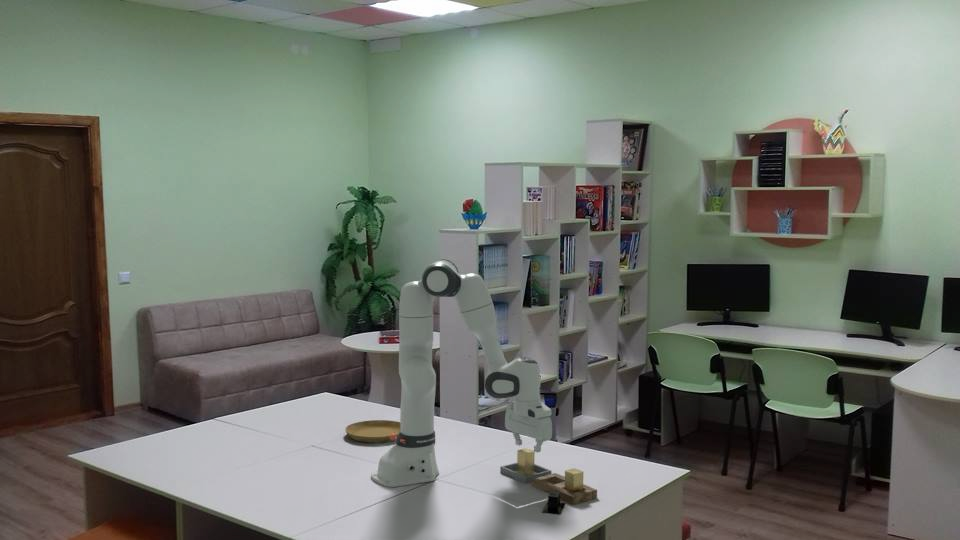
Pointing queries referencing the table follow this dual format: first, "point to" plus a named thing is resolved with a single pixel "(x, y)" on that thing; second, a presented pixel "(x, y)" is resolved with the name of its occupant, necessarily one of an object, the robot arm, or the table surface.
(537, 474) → the shallow grey tray
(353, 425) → the plant saucer
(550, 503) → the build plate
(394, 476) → the robot arm
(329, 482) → the table surface
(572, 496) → the pallet
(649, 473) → the table surface
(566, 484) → the block
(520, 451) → the block
